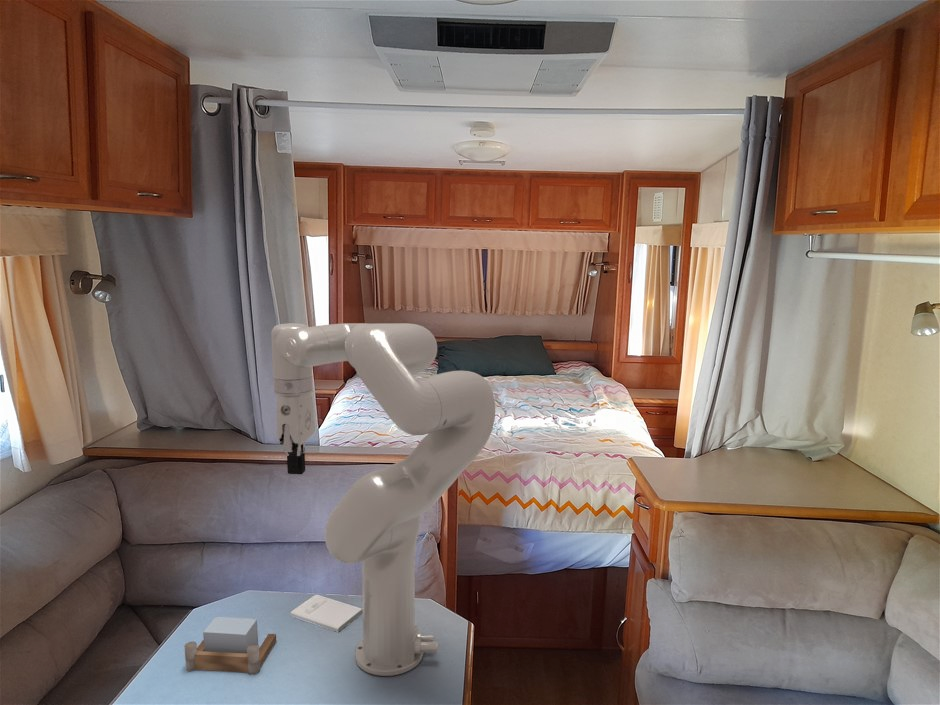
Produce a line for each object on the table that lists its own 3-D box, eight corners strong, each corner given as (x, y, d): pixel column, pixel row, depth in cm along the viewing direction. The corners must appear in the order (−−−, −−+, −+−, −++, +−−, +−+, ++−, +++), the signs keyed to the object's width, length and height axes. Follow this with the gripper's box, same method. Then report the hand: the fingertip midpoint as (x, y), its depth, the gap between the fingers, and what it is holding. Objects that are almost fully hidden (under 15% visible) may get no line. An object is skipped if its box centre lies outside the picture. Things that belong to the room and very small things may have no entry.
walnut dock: (277, 641, 127) (276, 619, 126) (257, 674, 117) (256, 651, 117) (209, 637, 128) (208, 616, 127) (183, 670, 118) (182, 647, 118)
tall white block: (258, 648, 125) (256, 619, 124) (247, 664, 120) (245, 634, 119) (217, 645, 126) (216, 616, 125) (205, 662, 121) (203, 632, 120)
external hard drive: (338, 635, 130) (290, 618, 136) (363, 615, 137) (316, 599, 143) (337, 628, 130) (289, 611, 136) (363, 607, 137) (316, 592, 143)
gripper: (299, 394, 125) (302, 486, 128) (322, 378, 140) (325, 461, 143) (260, 393, 125) (264, 485, 129) (287, 377, 140) (291, 460, 143)
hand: (296, 472), depth 136 cm, fingers closed
